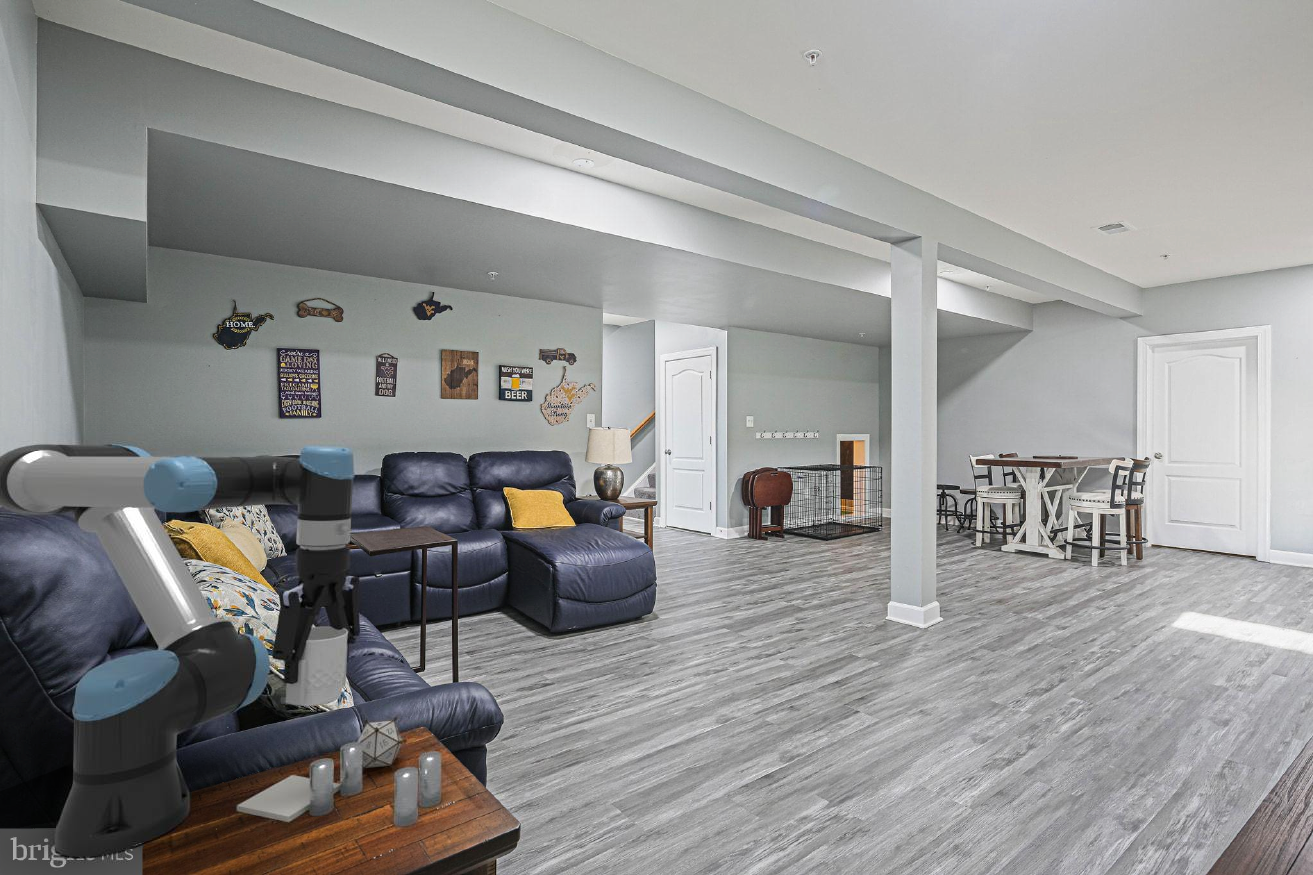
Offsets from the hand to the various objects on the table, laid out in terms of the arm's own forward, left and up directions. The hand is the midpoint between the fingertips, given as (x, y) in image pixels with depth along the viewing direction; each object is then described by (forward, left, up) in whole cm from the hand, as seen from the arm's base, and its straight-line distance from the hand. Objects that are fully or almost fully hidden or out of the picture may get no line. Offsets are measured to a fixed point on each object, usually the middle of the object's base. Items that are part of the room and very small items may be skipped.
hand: (316, 693), depth 103 cm
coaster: (-4, -1, -16) cm, 17 cm away
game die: (+2, +12, -17) cm, 21 cm away
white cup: (0, 0, -1) cm, 1 cm away
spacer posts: (+10, +2, -16) cm, 19 cm away
